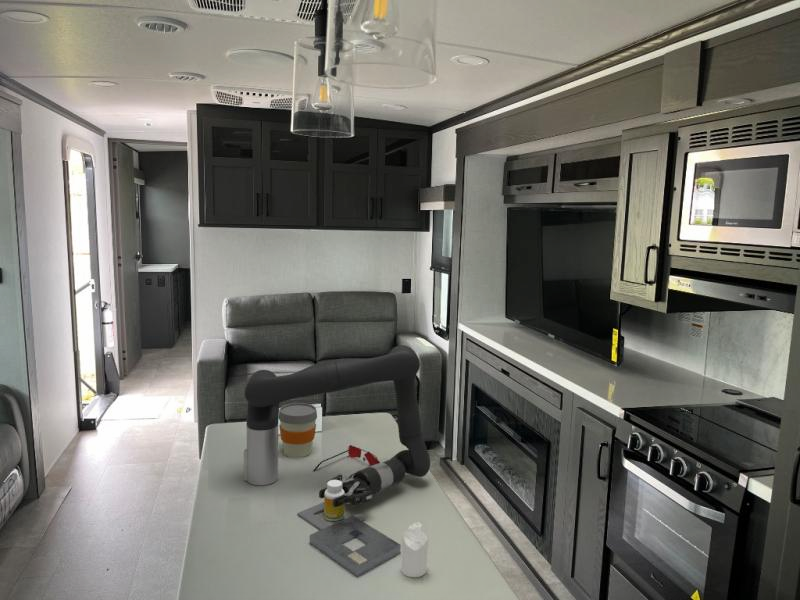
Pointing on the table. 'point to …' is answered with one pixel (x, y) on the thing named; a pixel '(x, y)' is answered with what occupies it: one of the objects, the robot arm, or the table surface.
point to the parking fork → (317, 522)
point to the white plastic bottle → (414, 551)
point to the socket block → (362, 558)
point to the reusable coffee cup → (297, 428)
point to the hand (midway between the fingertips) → (327, 498)
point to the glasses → (355, 453)
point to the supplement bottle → (331, 493)
